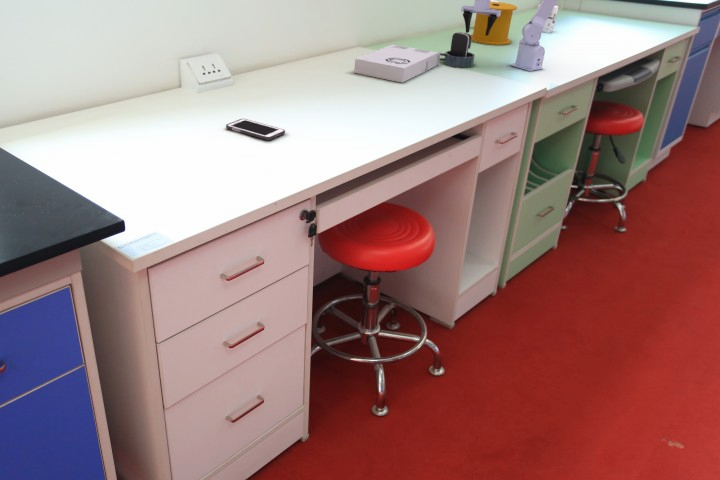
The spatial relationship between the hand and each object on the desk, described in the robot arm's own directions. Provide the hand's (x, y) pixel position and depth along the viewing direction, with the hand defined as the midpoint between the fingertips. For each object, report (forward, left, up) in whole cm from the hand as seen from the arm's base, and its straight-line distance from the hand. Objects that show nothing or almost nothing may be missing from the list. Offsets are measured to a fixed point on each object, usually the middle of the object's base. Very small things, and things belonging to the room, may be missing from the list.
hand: (477, 33), depth 257 cm
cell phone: (-26, +117, -10) cm, 121 cm away
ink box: (+26, -81, -11) cm, 85 cm away
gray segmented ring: (+1, +9, -10) cm, 14 cm away
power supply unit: (+5, +35, -11) cm, 37 cm away
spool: (+23, -38, -11) cm, 45 cm away
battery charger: (0, +8, -11) cm, 13 cm away
